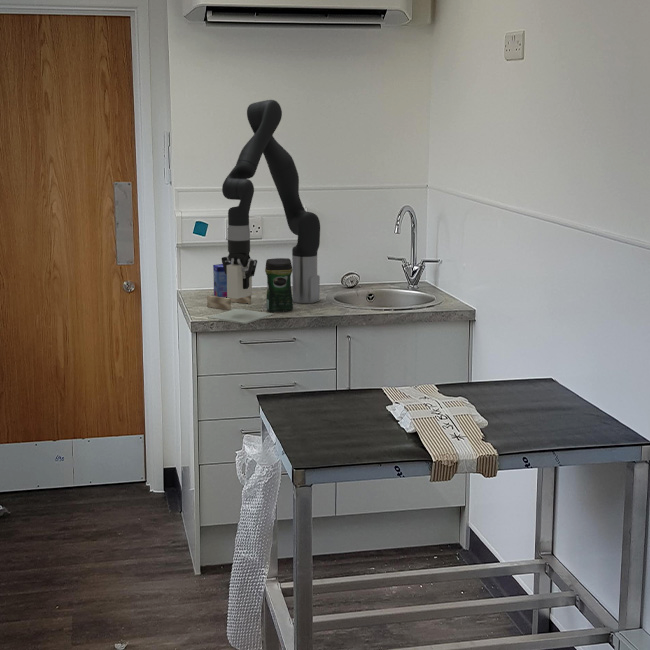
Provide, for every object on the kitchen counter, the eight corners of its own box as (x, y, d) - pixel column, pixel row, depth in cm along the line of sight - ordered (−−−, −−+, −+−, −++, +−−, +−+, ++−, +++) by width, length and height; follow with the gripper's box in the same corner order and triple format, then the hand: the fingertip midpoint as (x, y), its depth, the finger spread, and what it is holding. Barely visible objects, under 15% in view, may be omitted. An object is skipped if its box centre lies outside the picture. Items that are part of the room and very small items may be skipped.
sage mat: (273, 315, 328) (273, 313, 328) (245, 324, 315) (245, 322, 315) (236, 309, 336) (236, 308, 336) (207, 318, 323) (207, 316, 323)
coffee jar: (291, 307, 341) (291, 256, 337) (294, 312, 333) (293, 259, 329) (264, 308, 339) (264, 256, 335) (266, 312, 332) (266, 260, 328)
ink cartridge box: (217, 298, 356) (216, 260, 353) (212, 296, 361) (211, 258, 358) (242, 296, 360) (241, 258, 357) (237, 294, 365) (236, 256, 362)
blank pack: (251, 294, 326) (251, 263, 324) (237, 298, 320) (237, 266, 317) (241, 293, 329) (241, 262, 326) (227, 297, 322) (226, 265, 319)
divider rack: (251, 303, 347) (251, 293, 346) (229, 310, 336) (229, 299, 335) (229, 300, 352) (229, 290, 351) (207, 306, 341) (207, 296, 341)
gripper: (262, 238, 319) (263, 288, 323) (229, 235, 326) (229, 284, 330) (249, 241, 313) (249, 292, 317) (215, 237, 320) (216, 287, 324)
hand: (239, 287), depth 323 cm, fingers closed on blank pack, 4 cm apart
